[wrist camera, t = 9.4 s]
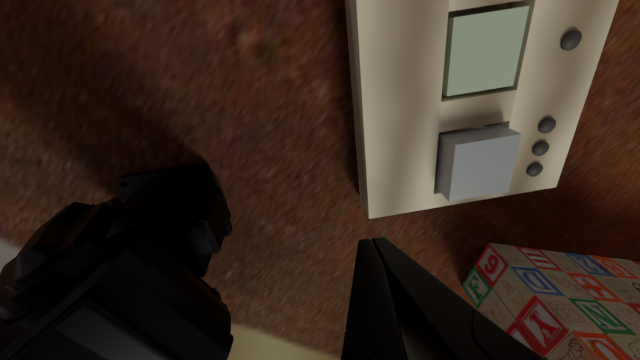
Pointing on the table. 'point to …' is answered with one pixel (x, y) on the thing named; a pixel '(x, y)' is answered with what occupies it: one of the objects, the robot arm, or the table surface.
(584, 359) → the stack of blocks
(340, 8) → the table surface
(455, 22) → the one-dot key
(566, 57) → the key panel
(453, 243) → the table surface
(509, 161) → the three-dot key
